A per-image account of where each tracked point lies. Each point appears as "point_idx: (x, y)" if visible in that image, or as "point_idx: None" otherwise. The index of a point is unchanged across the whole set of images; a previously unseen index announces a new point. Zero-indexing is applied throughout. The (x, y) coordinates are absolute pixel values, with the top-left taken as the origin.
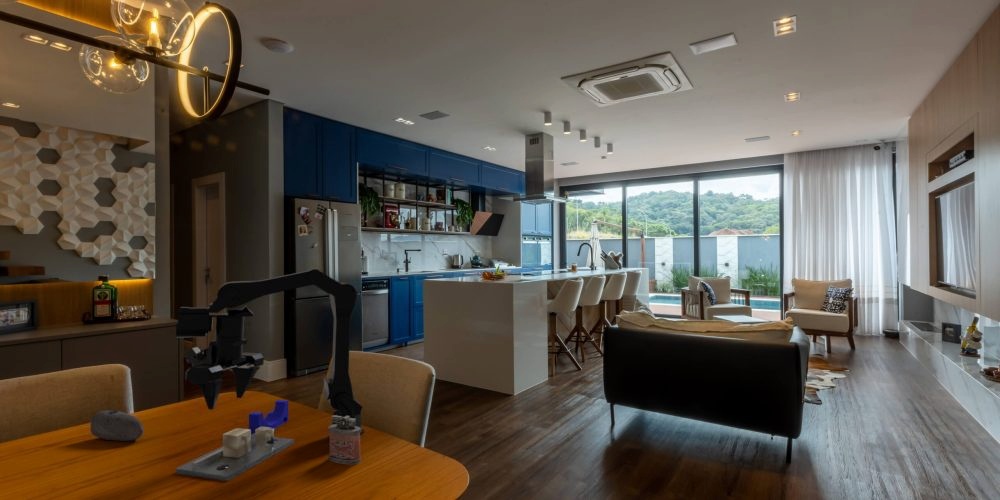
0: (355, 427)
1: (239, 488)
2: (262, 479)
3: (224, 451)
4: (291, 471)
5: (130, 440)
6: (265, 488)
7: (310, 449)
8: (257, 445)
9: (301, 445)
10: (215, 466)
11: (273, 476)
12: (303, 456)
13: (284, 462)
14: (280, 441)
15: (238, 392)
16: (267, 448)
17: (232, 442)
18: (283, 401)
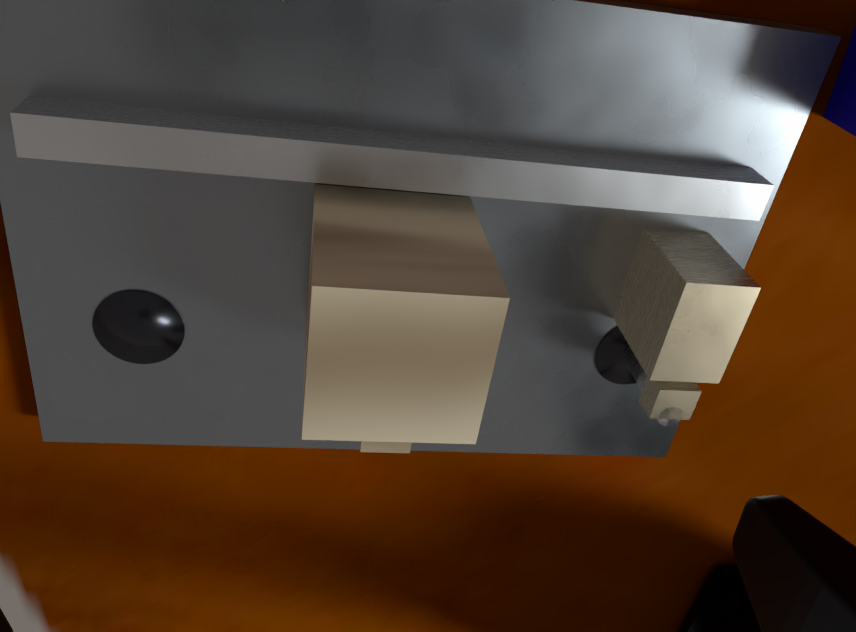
0: None
1: (16, 526)
2: (152, 558)
3: (313, 218)
4: (278, 615)
5: None
6: (75, 619)
7: (560, 555)
8: (558, 297)
9: (621, 488)
10: (135, 261)
11: (201, 580)
12: (463, 572)
13: (373, 536)
14: (632, 401)
15: (798, 606)
16: (505, 396)
17: (306, 350)
18: None
